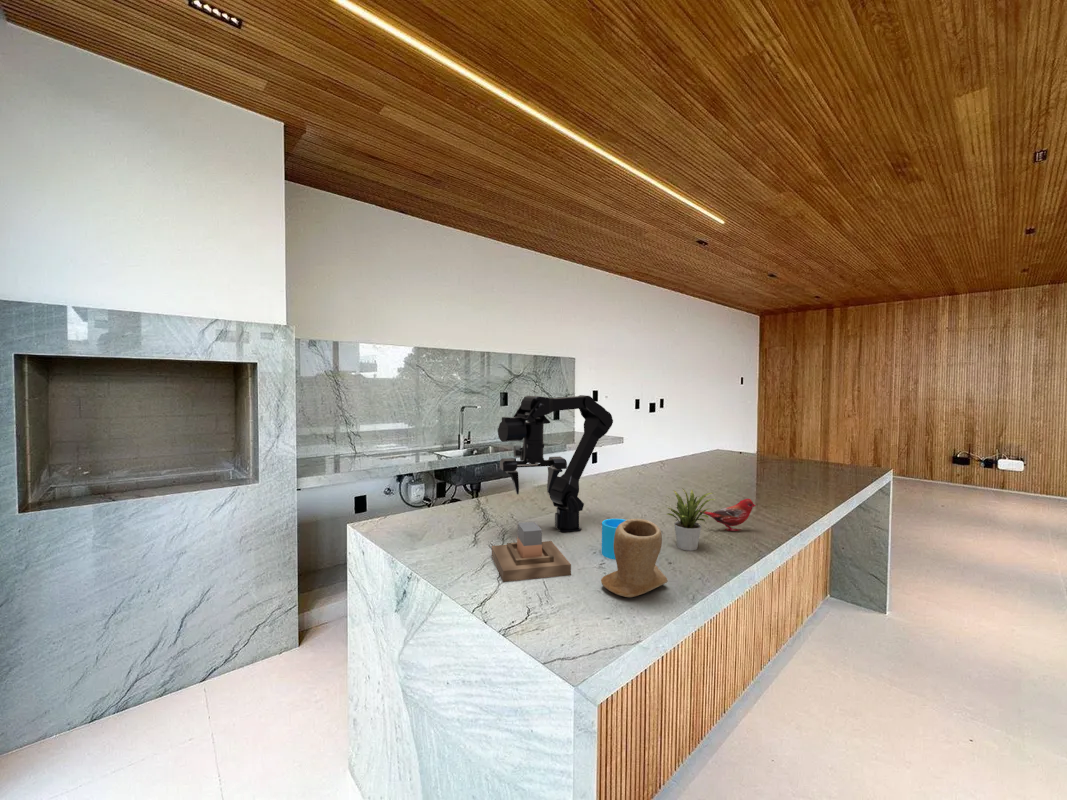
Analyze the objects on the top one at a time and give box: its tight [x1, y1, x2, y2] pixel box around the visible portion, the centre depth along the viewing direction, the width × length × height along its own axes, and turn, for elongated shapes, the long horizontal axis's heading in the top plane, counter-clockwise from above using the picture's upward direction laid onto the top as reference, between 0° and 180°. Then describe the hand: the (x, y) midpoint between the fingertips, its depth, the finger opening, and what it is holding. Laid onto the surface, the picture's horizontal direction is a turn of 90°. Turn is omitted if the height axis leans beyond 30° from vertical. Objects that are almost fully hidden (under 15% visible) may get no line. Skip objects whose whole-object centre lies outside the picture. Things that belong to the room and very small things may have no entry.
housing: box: [516, 521, 543, 558], centre depth 113 cm, size 7×4×7 cm, turn 15°
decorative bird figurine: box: [699, 498, 756, 532], centre depth 140 cm, size 3×18×10 cm, turn 89°
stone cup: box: [600, 518, 669, 598], centre depth 101 cm, size 15×12×15 cm
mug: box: [601, 518, 627, 561], centre depth 122 cm, size 12×8×8 cm
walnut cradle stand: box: [491, 540, 572, 583], centre depth 113 cm, size 16×16×4 cm
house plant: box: [664, 487, 716, 552], centre depth 125 cm, size 14×14×16 cm
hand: (533, 493), depth 134 cm, fingers open, 9 cm apart
